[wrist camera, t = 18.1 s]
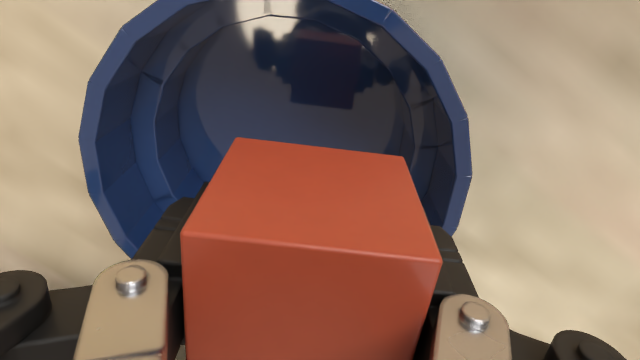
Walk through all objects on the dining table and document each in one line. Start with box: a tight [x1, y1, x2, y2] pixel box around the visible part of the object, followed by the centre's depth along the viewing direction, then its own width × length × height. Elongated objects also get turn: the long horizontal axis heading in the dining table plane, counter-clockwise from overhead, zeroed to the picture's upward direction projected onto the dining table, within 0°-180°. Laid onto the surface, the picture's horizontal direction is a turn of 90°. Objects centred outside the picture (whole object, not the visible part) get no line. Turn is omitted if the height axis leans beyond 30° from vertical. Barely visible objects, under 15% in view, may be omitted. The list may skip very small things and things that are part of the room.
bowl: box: [78, 0, 472, 259], centre depth 18 cm, size 14×14×6 cm
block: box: [180, 137, 443, 360], centre depth 10 cm, size 4×4×4 cm
